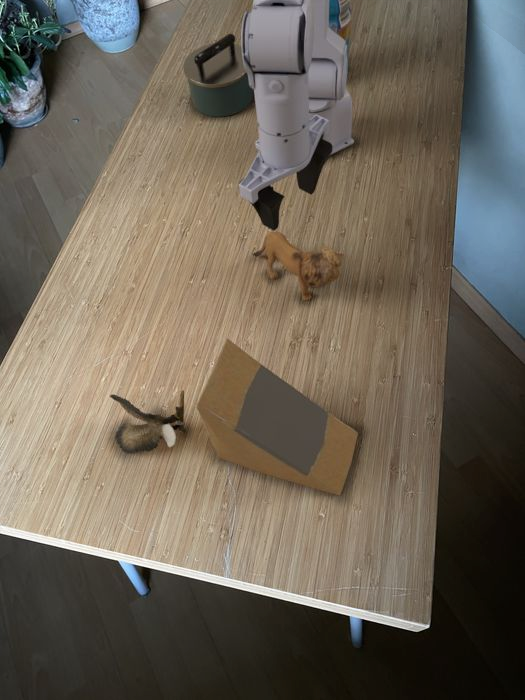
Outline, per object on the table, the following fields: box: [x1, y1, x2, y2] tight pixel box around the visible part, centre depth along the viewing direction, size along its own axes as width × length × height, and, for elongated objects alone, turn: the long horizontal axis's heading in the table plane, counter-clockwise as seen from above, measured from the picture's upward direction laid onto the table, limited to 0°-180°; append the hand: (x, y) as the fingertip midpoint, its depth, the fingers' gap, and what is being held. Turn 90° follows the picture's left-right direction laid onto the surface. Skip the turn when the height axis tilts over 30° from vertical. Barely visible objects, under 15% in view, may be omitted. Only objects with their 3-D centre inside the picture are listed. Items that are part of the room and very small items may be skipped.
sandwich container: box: [195, 337, 359, 496], centre depth 65 cm, size 9×15×15 cm, turn 71°
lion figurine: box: [252, 231, 345, 302], centre depth 80 cm, size 15×5×9 cm, turn 55°
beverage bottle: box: [329, 0, 352, 74], centre depth 98 cm, size 8×8×20 cm
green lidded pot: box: [182, 33, 254, 118], centre depth 101 cm, size 12×12×10 cm
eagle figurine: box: [109, 389, 186, 455], centre depth 71 cm, size 8×7×9 cm
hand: (288, 207), depth 77 cm, fingers open, 7 cm apart
